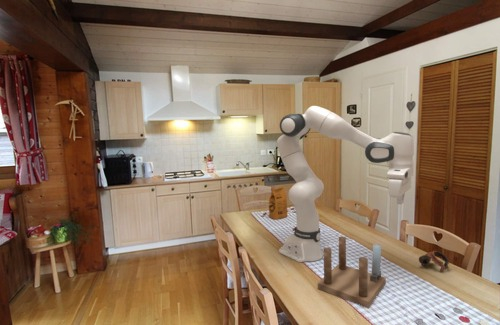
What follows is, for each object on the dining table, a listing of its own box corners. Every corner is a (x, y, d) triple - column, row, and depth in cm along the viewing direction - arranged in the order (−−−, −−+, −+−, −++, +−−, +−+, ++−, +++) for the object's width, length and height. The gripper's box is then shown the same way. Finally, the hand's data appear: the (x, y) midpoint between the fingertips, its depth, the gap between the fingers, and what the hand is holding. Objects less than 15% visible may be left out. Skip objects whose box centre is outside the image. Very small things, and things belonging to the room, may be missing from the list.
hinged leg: (370, 274, 113) (372, 246, 111) (373, 271, 115) (374, 243, 114) (378, 276, 111) (379, 248, 109) (380, 273, 113) (382, 245, 112)
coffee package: (267, 217, 204) (266, 187, 202) (280, 213, 211) (279, 185, 208) (275, 220, 196) (274, 190, 193) (289, 217, 203) (288, 187, 200)
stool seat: (317, 288, 113) (316, 250, 110) (338, 268, 127) (338, 234, 125) (368, 308, 99) (368, 264, 97) (385, 283, 114) (386, 245, 112)
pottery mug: (430, 260, 131) (441, 249, 127) (444, 278, 124) (456, 267, 119) (409, 258, 129) (420, 246, 125) (422, 276, 121) (433, 264, 117)
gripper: (399, 167, 126) (398, 197, 127) (385, 174, 111) (385, 208, 112) (415, 168, 121) (414, 198, 123) (403, 175, 106) (402, 210, 108)
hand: (400, 203), depth 118 cm, fingers closed
